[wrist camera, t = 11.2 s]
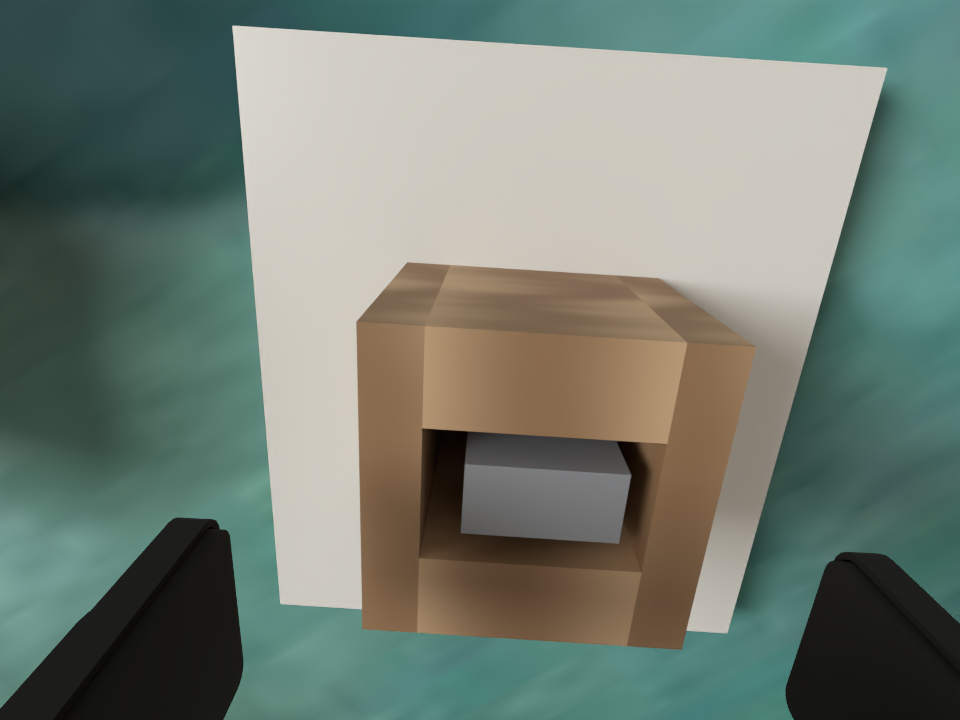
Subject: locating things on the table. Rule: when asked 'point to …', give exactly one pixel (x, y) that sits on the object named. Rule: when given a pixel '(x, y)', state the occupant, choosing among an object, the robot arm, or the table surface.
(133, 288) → the table surface
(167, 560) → the robot arm
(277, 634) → the table surface
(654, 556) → the oak collar
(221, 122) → the table surface
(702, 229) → the plate
